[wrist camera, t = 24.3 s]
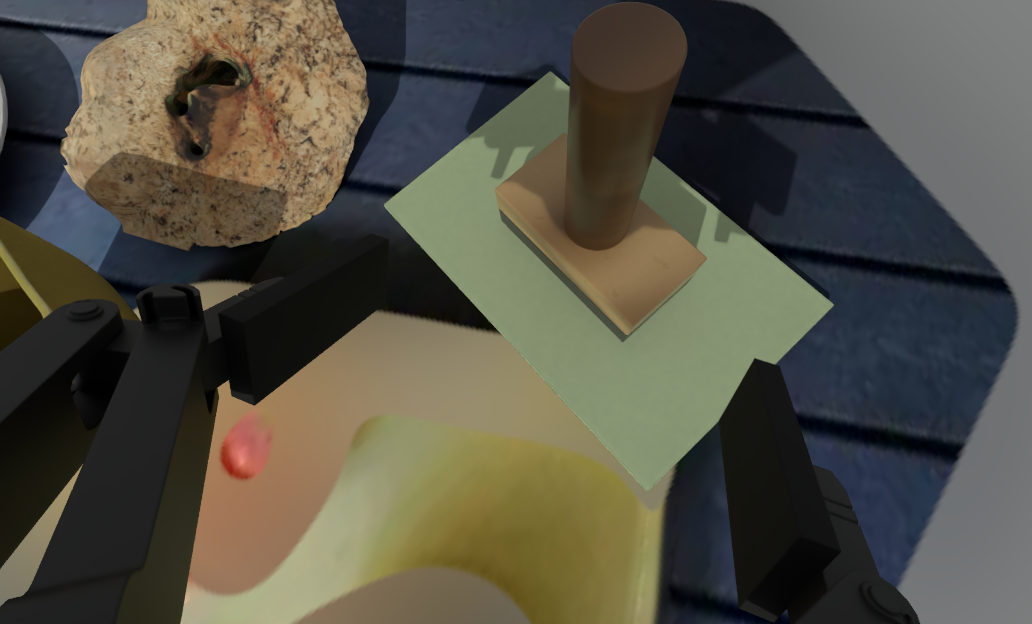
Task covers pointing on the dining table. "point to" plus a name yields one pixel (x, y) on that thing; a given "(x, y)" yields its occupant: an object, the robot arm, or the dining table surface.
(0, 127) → the dinner plate
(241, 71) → the pitted speckled stone
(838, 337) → the dining table surface
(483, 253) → the mat
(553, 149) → the stamp
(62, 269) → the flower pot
